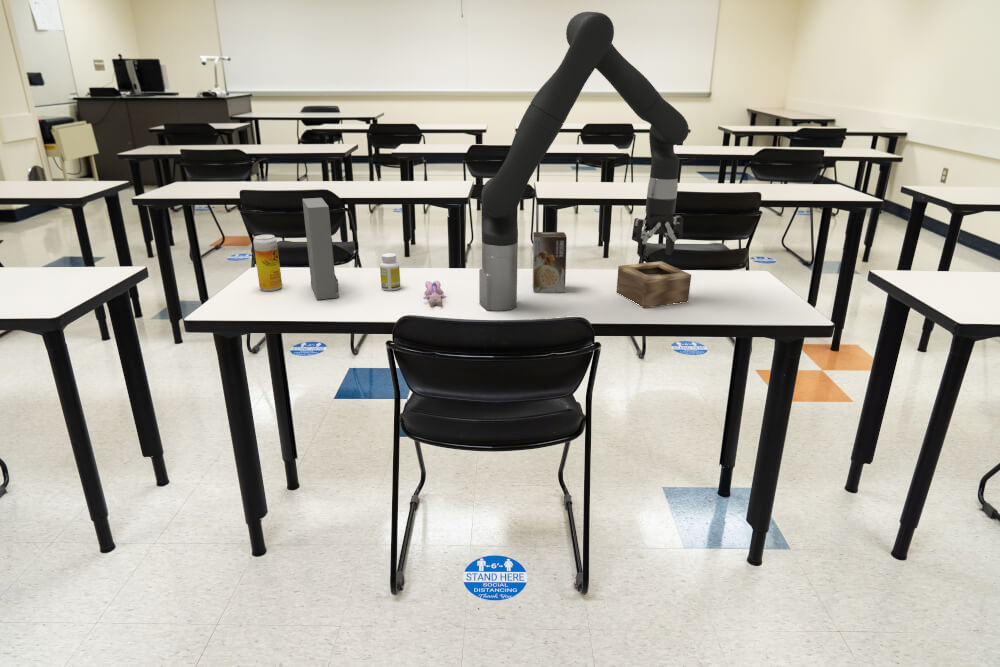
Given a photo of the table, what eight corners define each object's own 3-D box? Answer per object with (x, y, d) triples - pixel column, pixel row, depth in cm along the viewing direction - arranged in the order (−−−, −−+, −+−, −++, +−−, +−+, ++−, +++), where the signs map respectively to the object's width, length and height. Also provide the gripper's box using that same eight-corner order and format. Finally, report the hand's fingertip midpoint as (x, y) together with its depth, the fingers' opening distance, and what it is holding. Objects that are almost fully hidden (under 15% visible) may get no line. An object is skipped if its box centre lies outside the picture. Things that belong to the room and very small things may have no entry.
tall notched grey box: (340, 298, 176) (331, 206, 166) (317, 300, 174) (307, 208, 164) (332, 283, 188) (324, 197, 178) (311, 285, 186) (301, 198, 176)
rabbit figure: (448, 312, 170) (443, 286, 183) (448, 292, 167) (443, 267, 180) (424, 313, 169) (421, 287, 182) (423, 293, 166) (420, 268, 179)
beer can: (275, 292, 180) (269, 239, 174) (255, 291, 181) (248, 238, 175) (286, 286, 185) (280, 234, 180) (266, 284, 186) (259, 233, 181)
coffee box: (563, 286, 187) (565, 231, 181) (565, 293, 181) (567, 237, 175) (531, 285, 187) (533, 231, 181) (532, 292, 181) (534, 236, 175)
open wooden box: (643, 308, 170) (646, 280, 167) (616, 292, 182) (618, 265, 179) (688, 302, 175) (691, 274, 172) (658, 287, 187) (661, 261, 184)
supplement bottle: (402, 285, 187) (400, 252, 183) (398, 291, 182) (397, 257, 178) (383, 285, 187) (381, 252, 183) (379, 291, 182) (377, 257, 178)
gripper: (646, 199, 162) (640, 261, 168) (693, 196, 167) (685, 257, 173) (630, 194, 169) (624, 254, 175) (676, 191, 174) (669, 250, 180)
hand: (655, 255), depth 174 cm, fingers open, 8 cm apart
